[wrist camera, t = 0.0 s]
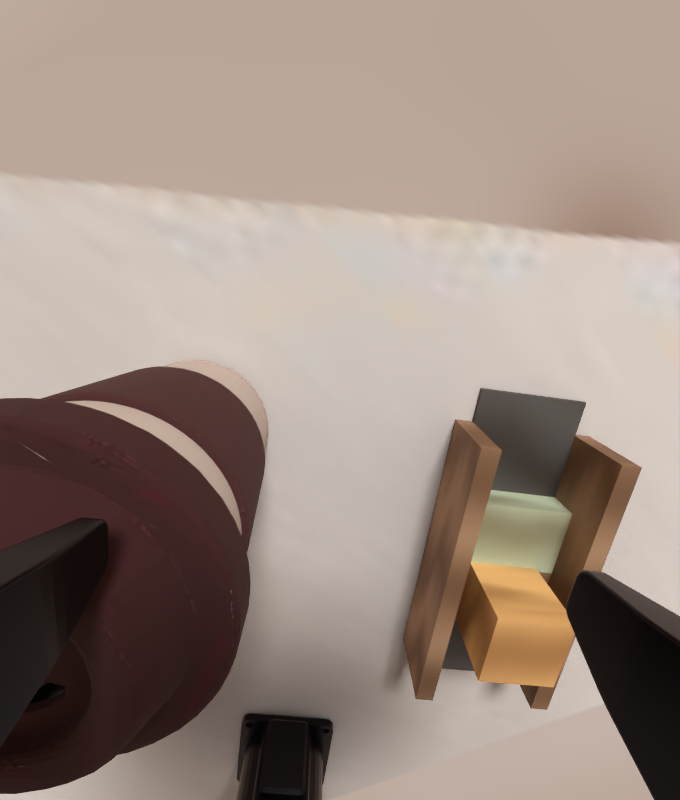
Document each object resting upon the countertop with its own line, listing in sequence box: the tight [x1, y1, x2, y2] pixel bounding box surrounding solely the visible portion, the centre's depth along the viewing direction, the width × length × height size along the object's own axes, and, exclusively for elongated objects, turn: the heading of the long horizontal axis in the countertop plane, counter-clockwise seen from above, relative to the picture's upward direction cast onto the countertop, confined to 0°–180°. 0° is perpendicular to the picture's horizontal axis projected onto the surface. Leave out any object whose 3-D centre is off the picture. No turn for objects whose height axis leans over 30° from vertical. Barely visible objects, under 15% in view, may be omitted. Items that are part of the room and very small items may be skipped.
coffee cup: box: [0, 360, 268, 794], centre depth 15 cm, size 10×10×15 cm
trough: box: [404, 388, 642, 710], centre depth 23 cm, size 20×8×4 cm, turn 172°
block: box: [455, 562, 574, 687], centre depth 22 cm, size 4×4×4 cm
